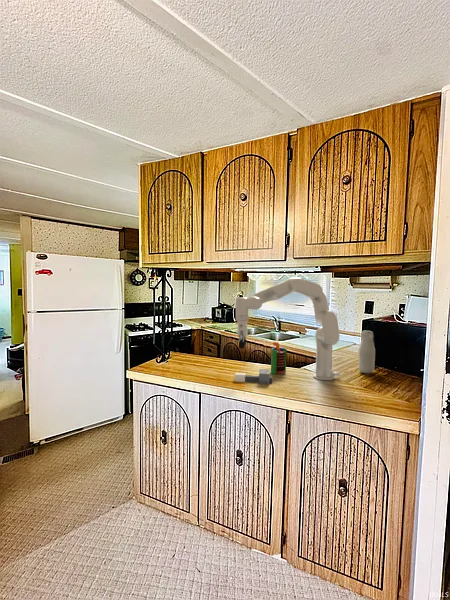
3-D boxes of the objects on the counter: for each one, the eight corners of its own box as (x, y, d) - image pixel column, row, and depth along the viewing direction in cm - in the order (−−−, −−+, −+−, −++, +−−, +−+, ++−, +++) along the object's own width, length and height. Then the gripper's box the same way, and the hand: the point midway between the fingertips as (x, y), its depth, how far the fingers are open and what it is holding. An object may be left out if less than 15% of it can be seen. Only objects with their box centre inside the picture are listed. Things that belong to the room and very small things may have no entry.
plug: (272, 381, 198) (272, 374, 198) (272, 383, 194) (272, 376, 194) (235, 379, 201) (235, 372, 201) (234, 381, 197) (234, 374, 197)
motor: (280, 375, 209) (280, 344, 207) (267, 373, 214) (268, 342, 213) (287, 372, 217) (288, 342, 215) (275, 370, 222) (276, 340, 221)
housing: (269, 379, 201) (269, 369, 201) (269, 384, 191) (269, 374, 191) (259, 378, 202) (259, 368, 202) (258, 384, 192) (259, 373, 192)
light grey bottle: (373, 371, 220) (374, 329, 218) (375, 375, 210) (377, 332, 209) (357, 370, 223) (358, 328, 221) (358, 374, 213) (360, 331, 211)
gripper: (247, 320, 188) (247, 349, 189) (249, 316, 205) (249, 343, 206) (234, 319, 189) (234, 349, 190) (237, 316, 206) (237, 343, 207)
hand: (242, 346), depth 198 cm, fingers open, 9 cm apart
